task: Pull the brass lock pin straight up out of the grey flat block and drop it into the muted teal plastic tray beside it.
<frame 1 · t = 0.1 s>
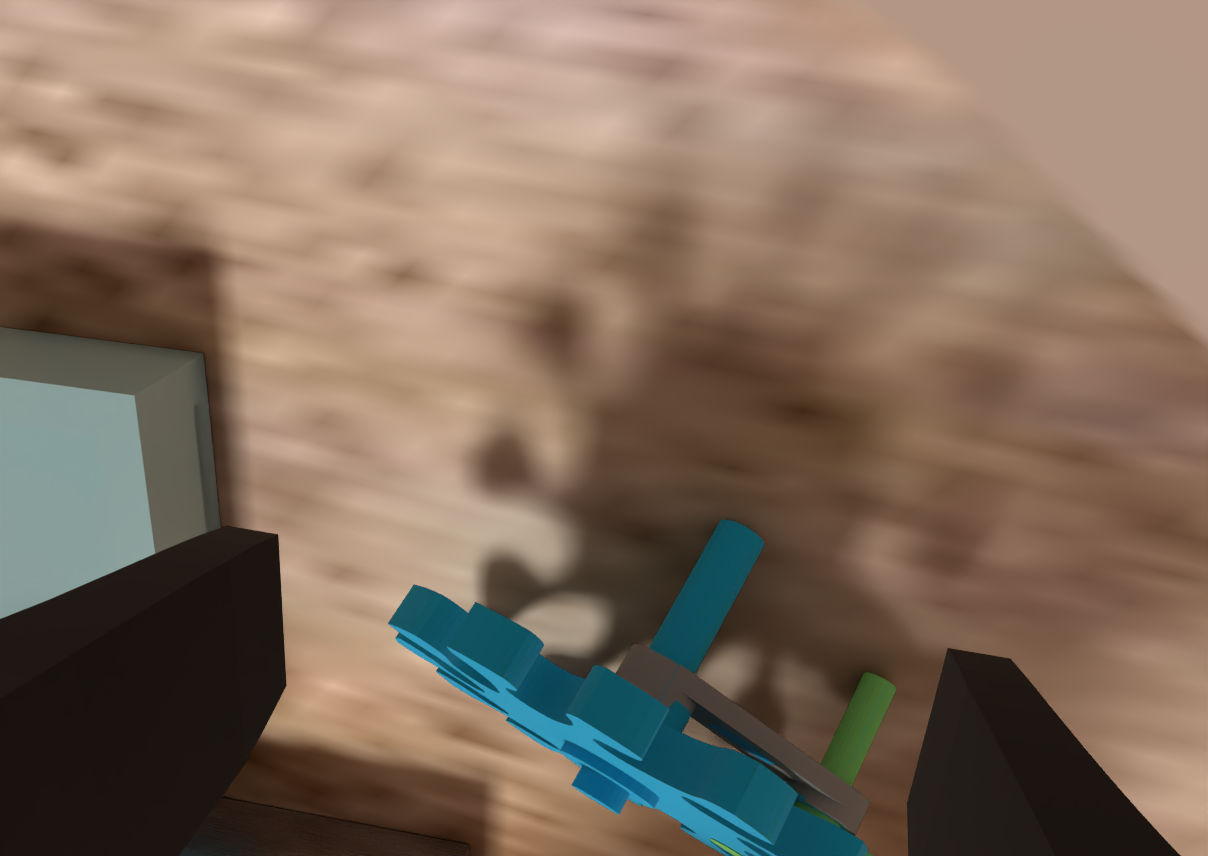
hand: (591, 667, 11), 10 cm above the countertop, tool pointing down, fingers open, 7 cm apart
gear: (671, 641, 23), on the countertop
pin tray: (13, 540, 25), on the countertop
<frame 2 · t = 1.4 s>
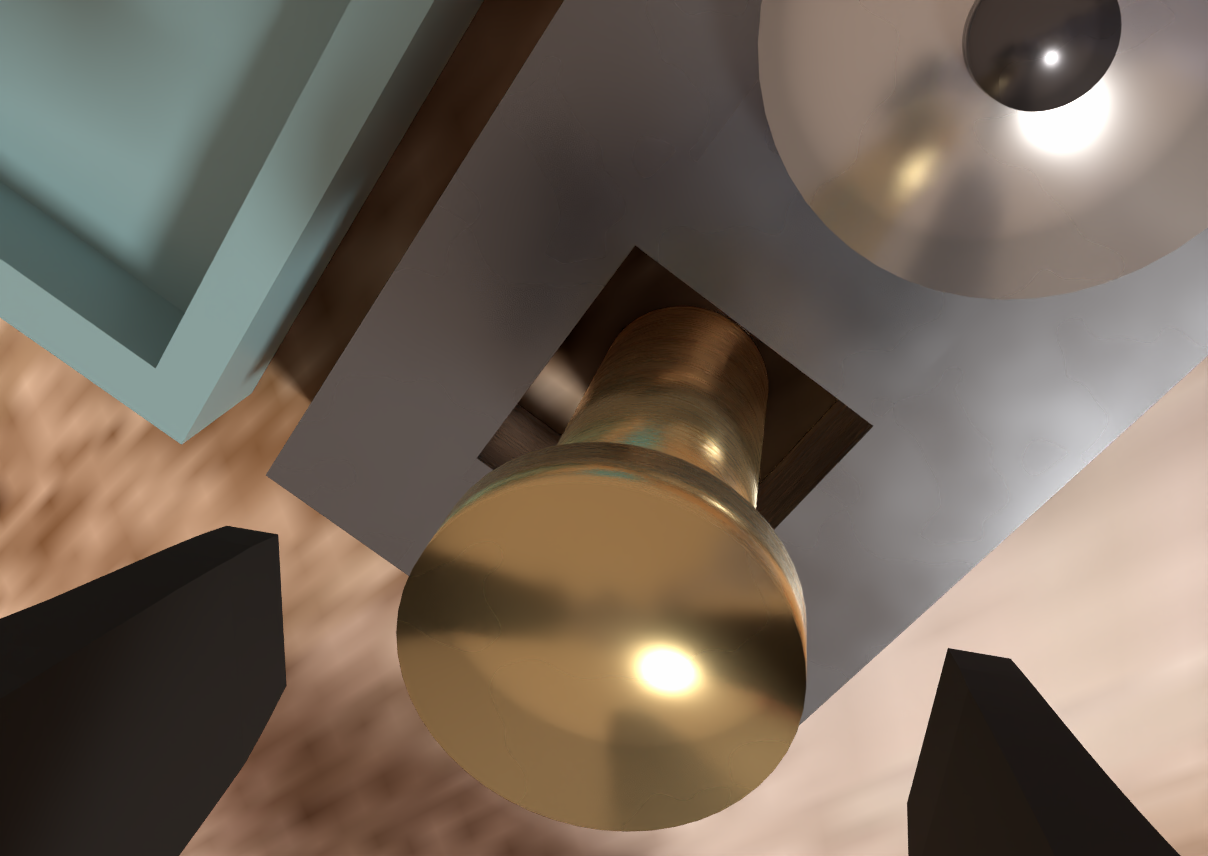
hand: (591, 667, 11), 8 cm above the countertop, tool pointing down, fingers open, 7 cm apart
grey flat block: (791, 257, 17), on the countertop
lock pin: (683, 386, 19), resting in grey flat block
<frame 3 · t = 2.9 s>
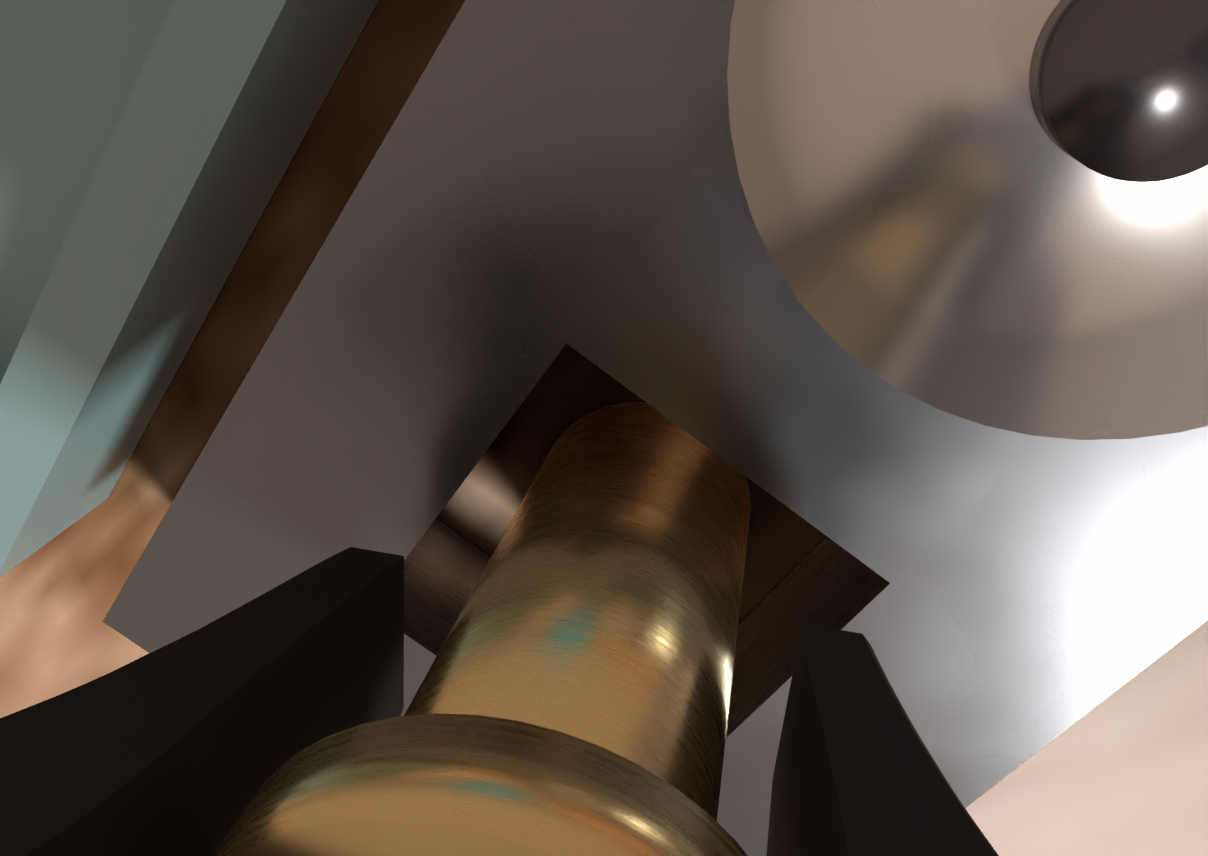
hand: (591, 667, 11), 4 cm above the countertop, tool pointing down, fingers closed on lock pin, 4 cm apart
grey flat block: (780, 343, 13), on the countertop
lock pin: (643, 500, 15), resting in grey flat block, touching gripper
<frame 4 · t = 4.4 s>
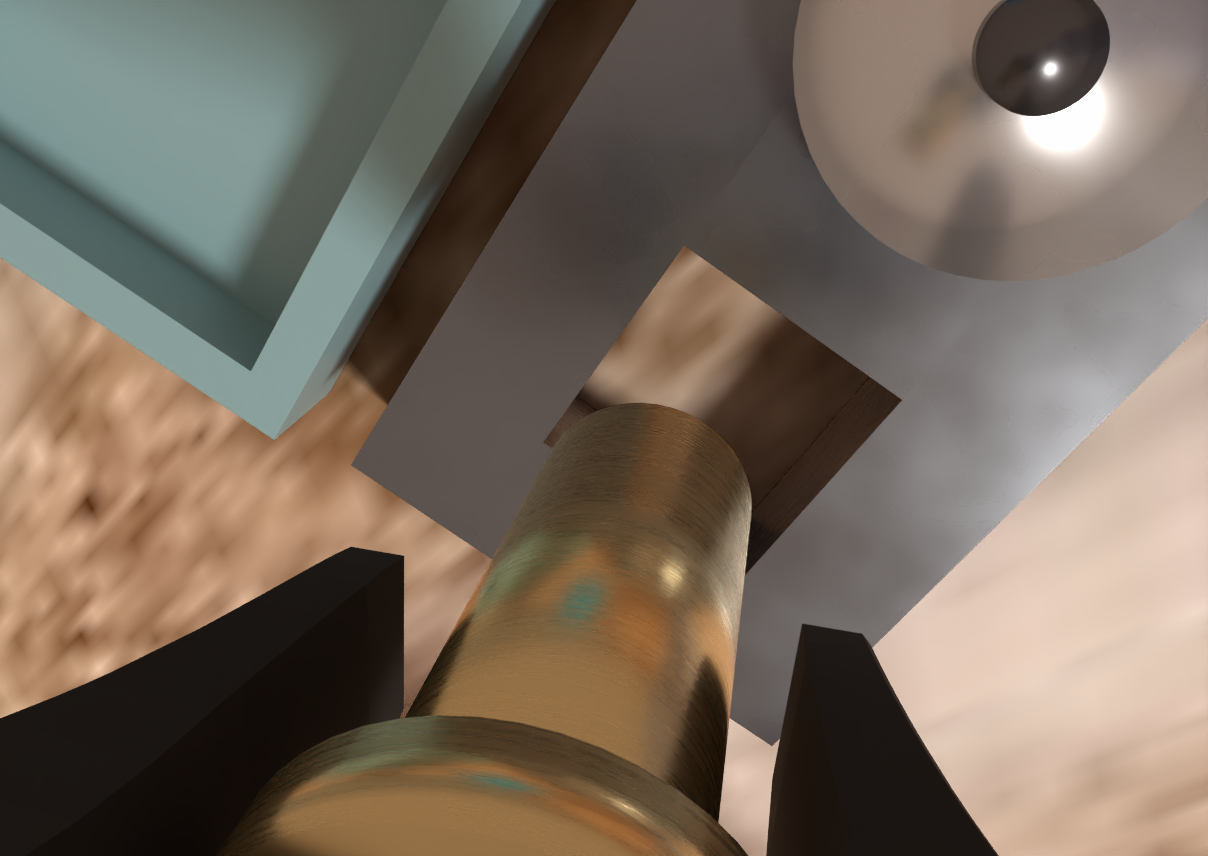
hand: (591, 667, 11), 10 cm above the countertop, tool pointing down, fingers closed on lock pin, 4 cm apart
grey flat block: (821, 251, 19), on the countertop
pin tray: (207, 10, 20), on the countertop
lock pin: (644, 501, 15), point 6 cm above the countertop, touching gripper
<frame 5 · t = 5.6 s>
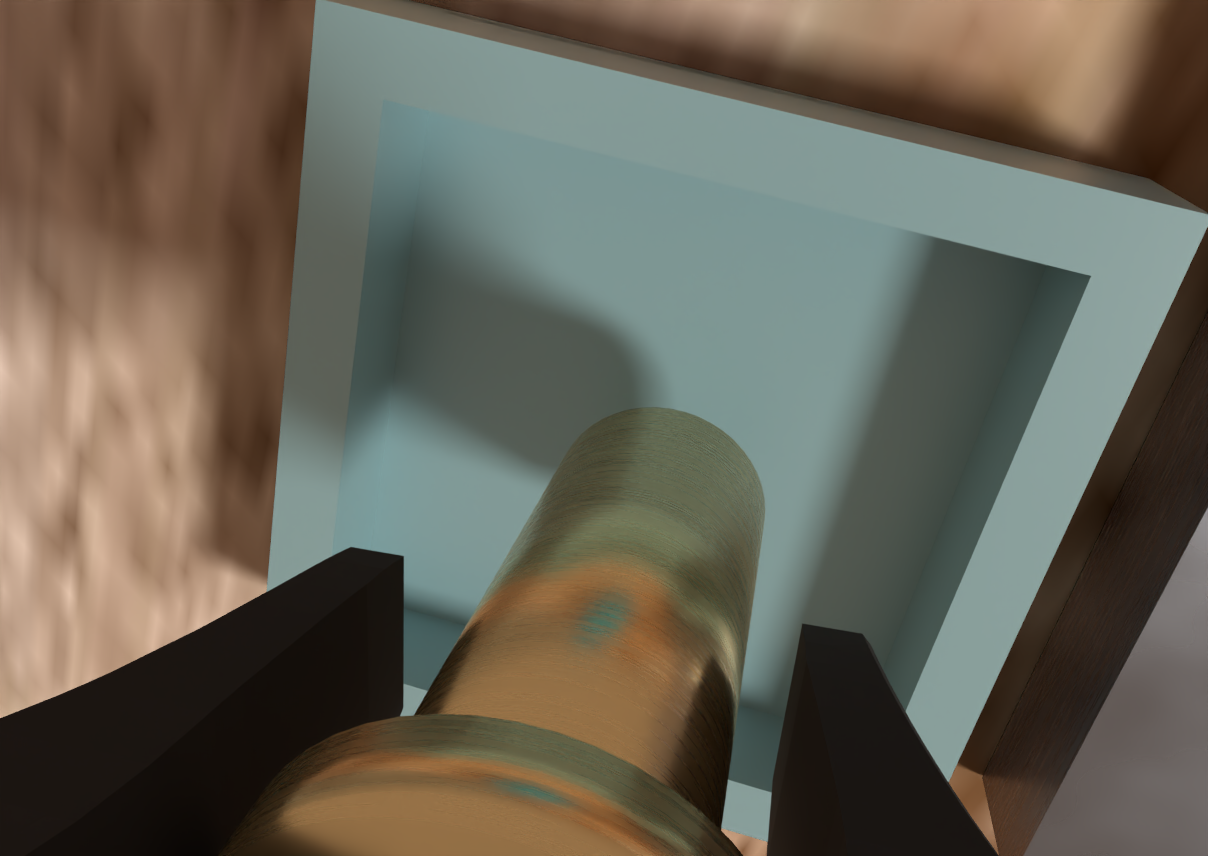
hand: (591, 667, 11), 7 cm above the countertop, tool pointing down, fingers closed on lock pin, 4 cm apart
pin tray: (668, 428, 17), on the countertop
lock pin: (658, 505, 15), point 3 cm above the countertop, touching gripper
when the fingers open (6 cm above the countertop, at t = 6.4 s): lock pin drops 2 cm, resting on pin tray.
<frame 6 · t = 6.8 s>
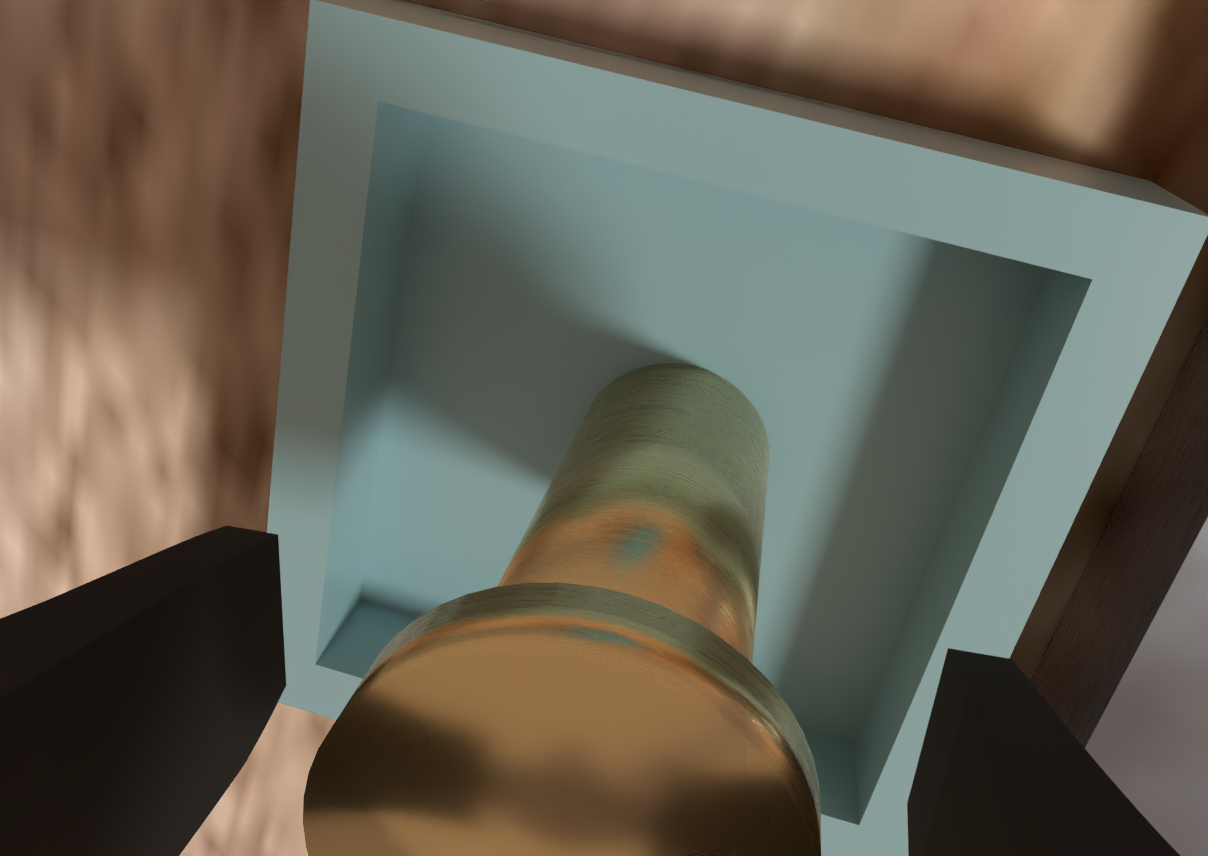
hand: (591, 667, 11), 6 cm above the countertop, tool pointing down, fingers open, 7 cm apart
pin tray: (666, 431, 17), on the countertop
lock pin: (673, 453, 16), point 1 cm above the countertop, touching pin tray
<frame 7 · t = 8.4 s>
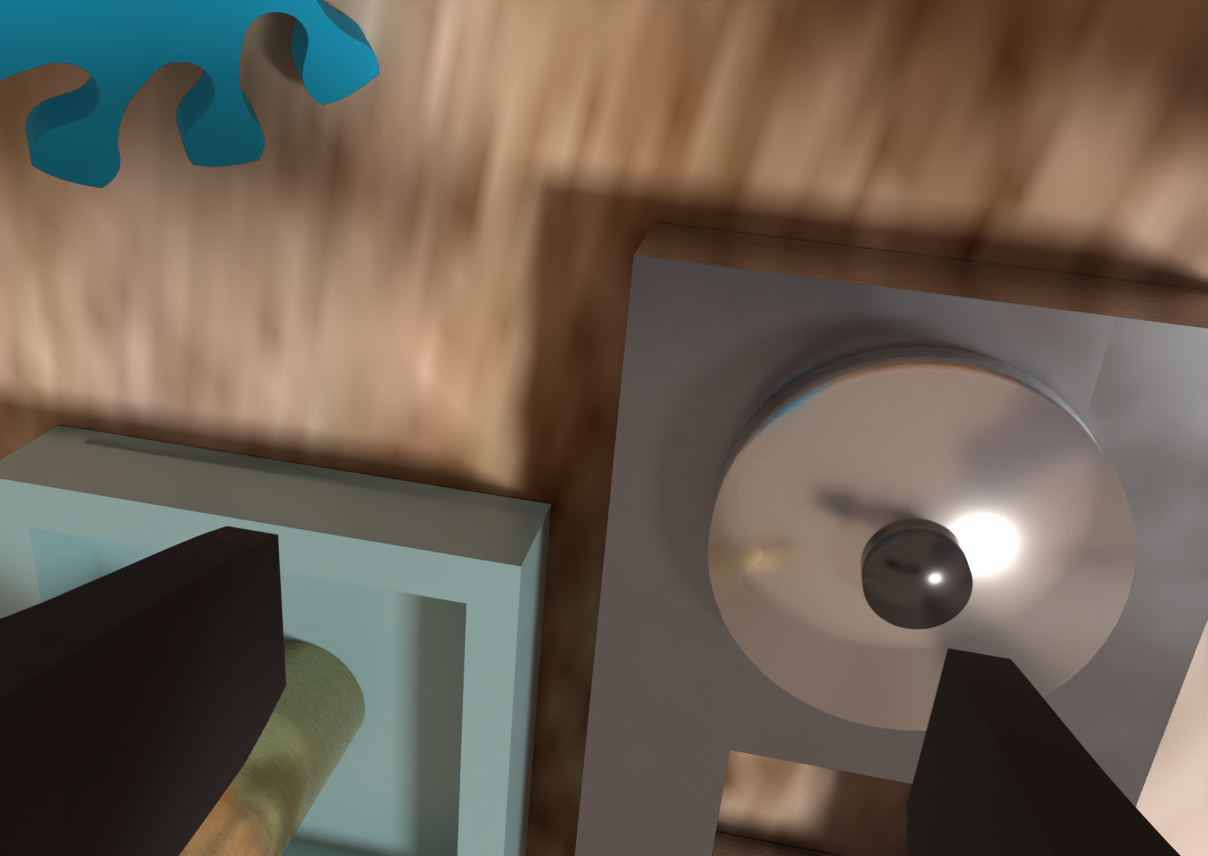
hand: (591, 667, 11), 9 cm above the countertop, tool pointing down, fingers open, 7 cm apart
grey flat block: (851, 660, 21), on the countertop
pin tray: (305, 675, 24), on the countertop
lock pin: (302, 695, 24), point 1 cm above the countertop, touching pin tray
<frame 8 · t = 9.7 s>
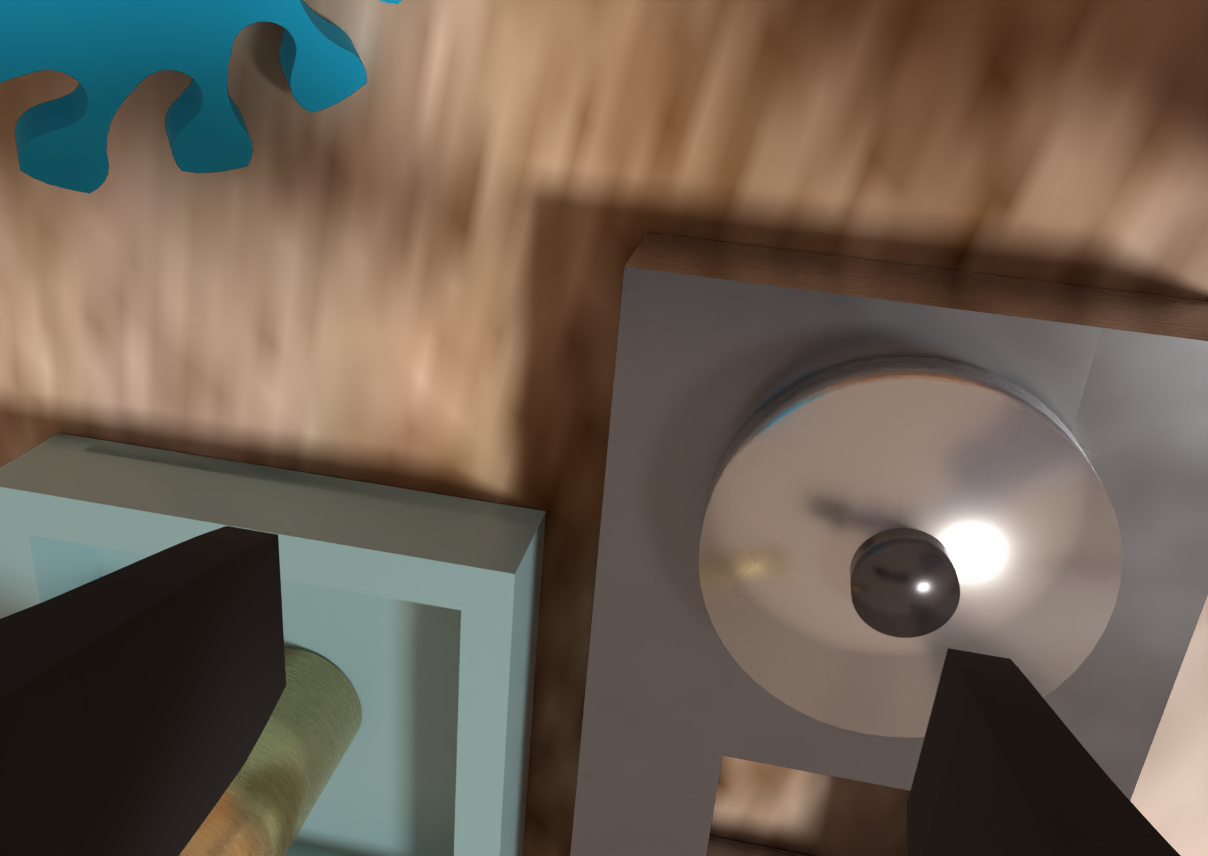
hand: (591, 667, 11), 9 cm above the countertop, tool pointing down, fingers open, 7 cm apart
grey flat block: (844, 666, 21), on the countertop
pin tray: (303, 680, 24), on the countertop
lock pin: (299, 701, 24), point 1 cm above the countertop, touching pin tray
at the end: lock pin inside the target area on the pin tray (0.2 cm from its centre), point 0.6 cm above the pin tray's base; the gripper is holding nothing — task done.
